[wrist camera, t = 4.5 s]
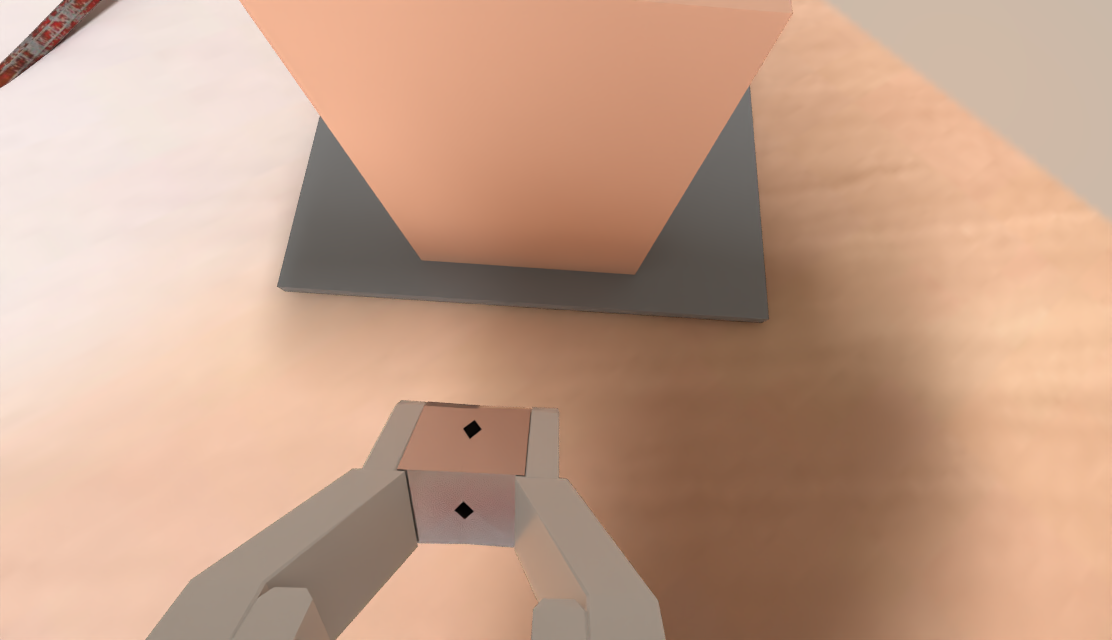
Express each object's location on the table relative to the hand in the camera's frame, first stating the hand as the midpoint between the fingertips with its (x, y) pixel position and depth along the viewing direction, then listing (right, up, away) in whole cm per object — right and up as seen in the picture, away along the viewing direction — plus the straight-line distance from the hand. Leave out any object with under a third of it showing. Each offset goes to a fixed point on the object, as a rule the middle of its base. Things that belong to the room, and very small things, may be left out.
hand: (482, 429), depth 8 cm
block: (0, +5, +8) cm, 9 cm away
